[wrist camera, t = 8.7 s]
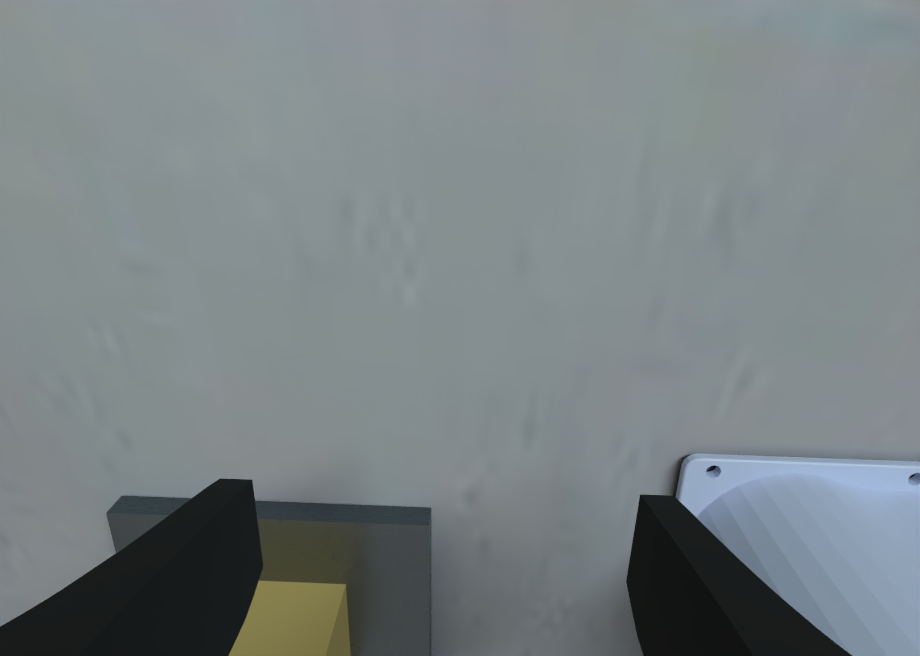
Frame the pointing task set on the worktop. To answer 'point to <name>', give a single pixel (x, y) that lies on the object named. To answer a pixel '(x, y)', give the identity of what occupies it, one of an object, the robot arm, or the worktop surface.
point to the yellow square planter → (295, 621)
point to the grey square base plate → (333, 561)
